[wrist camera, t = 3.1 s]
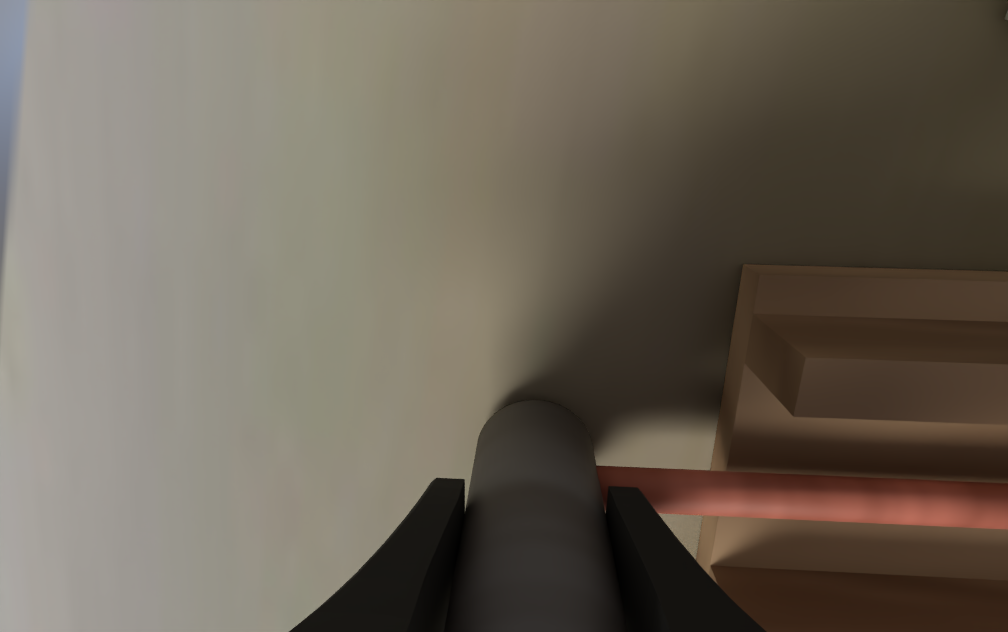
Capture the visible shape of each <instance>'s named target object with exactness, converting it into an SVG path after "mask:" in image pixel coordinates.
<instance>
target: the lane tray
mask: <svg viewBox="0 0 1008 632" xmlns="http://www.w3.org/2000/svg"><path fill="white" fill-rule="evenodd" d="M710 471H732V472H755V473H778V474H801V475H825V476H848V477H871V478H894V479H918V480H941V481H964V482H987V483H1008V271H971V270H935V269H899V268H862V267H826V266H789V265H753V264H743V268H742V275H741V281H740V287H739V293H738V300H737V306H736V312H735V318H734V325H733V331H732V337H731V344H730V350H729V356H728V362H727V369H726V375H725V381H724V387H723V394H722V400H721V406H720V413H719V419H718V425H717V431H716V438H715V444H714V450H713V456H712V463H711V469H710ZM696 561H697V562H698V564H699V565H700V566H701V567H702V568H703V569H704V570H705V571H706V573H707V574H708V575H709V576H710V577H711V578H712V579H713V580H714V581H715V582H716V583H717V584H718V585H719V586H720V588H721V589H722V590H723V591H724V592H725V593H726V594H727V595H728V596H729V597H730V598H731V599H732V600H733V601H734V602H735V603H736V604H737V605H738V606H739V607H740V608H741V609H742V610H743V611H744V612H746V613H747V614H748V615H749V616H750V617H751V618H752V619H753V620H754V621H755V622H757V623H758V624H759V625H760V626H761V627H762V628H763V629H764V630H765V631H766V632H1008V529H987V528H965V527H943V526H922V525H900V524H879V523H857V522H836V521H814V520H793V519H771V518H749V517H728V516H706V515H703V519H702V525H701V532H700V538H699V544H698V551H697V557H696Z"/></svg>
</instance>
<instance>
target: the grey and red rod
mask: <svg viewBox="0 0 1008 632" xmlns="http://www.w3.org/2000/svg"><path fill="white" fill-rule="evenodd" d="M608 486H619V487H638V488H639V490H640V491H641V492H642V493H643V494H644V496H645V497H646V498H647V500H648V501H649V502H650V504H651V505H652V506H653V508H654V509H655V510H656V512H657V513H663V514H685V515H706V516H728V517H749V518H771V519H793V520H814V521H836V522H857V523H879V524H900V525H922V526H943V527H965V528H987V529H1008V483H987V482H964V481H941V480H918V479H894V478H871V477H848V476H825V475H801V474H778V473H755V472H732V471H708V470H685V469H662V468H639V467H615V466H596V461H595V456H594V450H593V445H592V440H591V437H590V434H589V432H588V430H587V428H586V427H585V425H584V424H583V422H582V421H581V420H580V419H579V418H578V417H577V416H576V415H575V414H574V413H572V412H571V411H569V410H568V409H566V408H564V407H562V406H560V405H558V404H555V403H552V402H547V401H541V400H527V401H520V402H517V403H513V404H511V405H508V406H506V407H504V408H502V409H500V410H499V411H498V412H496V413H495V414H494V415H493V416H492V417H491V418H490V419H489V420H488V421H487V422H486V424H485V425H484V427H483V428H482V430H481V433H480V435H479V438H478V443H477V448H476V454H475V459H474V465H473V471H472V476H471V482H470V488H469V493H468V499H467V504H466V510H465V516H464V521H463V527H462V532H461V538H460V544H459V549H458V555H457V561H456V566H455V572H454V577H453V583H452V589H451V594H450V600H449V606H448V611H447V617H446V622H445V628H444V632H628V629H627V624H626V619H625V614H624V608H623V603H622V598H621V593H620V587H619V582H618V577H617V572H616V566H615V561H614V556H613V550H612V545H611V540H610V535H609V529H608V524H607V519H606V514H605V511H606V506H607V495H608Z"/></svg>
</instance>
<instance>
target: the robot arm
mask: <svg viewBox="0 0 1008 632" xmlns="http://www.w3.org/2000/svg"><path fill="white" fill-rule="evenodd" d="M464 516H465V479H448V478H436V479H435V480H433V481H432V482H431V483H430V485H429V486H428V488H427V489H426V491H425V492H424V494H423V495H422V496H421V498H420V499H419V500H418V502H417V503H416V505H415V506H414V507H413V508H412V510H411V511H410V512H409V514H408V515H407V516H406V518H405V519H404V520H403V521H402V522H401V524H400V525H399V526H398V527H397V528H396V530H395V531H394V532H393V533H392V534H391V536H390V537H389V538H388V539H387V540H386V541H385V543H384V544H383V545H382V546H381V547H380V548H379V549H378V550H377V551H376V552H375V554H374V555H373V556H372V557H371V558H370V559H369V560H368V561H367V562H366V563H365V564H364V565H363V566H362V567H361V568H360V569H359V571H358V572H357V573H356V574H355V575H354V576H353V577H352V578H350V579H349V580H348V581H347V582H346V583H345V584H344V585H343V586H342V587H341V588H340V589H339V590H338V591H337V592H336V593H335V594H333V595H332V596H331V597H330V598H329V599H328V600H327V601H326V602H325V603H323V604H322V605H321V606H320V607H319V608H318V609H317V610H315V611H314V612H313V613H312V614H310V615H309V616H308V617H307V618H305V619H304V620H303V621H302V622H301V623H299V624H298V625H297V626H296V627H294V628H293V629H292V630H291V631H289V632H444V628H445V622H446V617H447V611H448V606H449V600H450V594H451V589H452V583H453V577H454V572H455V566H456V561H457V555H458V549H459V544H460V538H461V532H462V527H463V521H464ZM606 519H607V524H608V529H609V535H610V540H611V545H612V550H613V556H614V561H615V566H616V572H617V577H618V582H619V587H620V593H621V598H622V603H623V608H624V614H625V619H626V624H627V629H628V632H766V631H765V630H764V629H763V628H762V627H761V626H760V625H759V624H758V623H757V622H755V621H754V620H753V619H752V618H751V617H750V616H749V615H748V614H747V613H746V612H744V611H743V610H742V609H741V608H740V607H739V606H738V605H737V604H736V603H735V602H734V601H733V600H732V599H731V598H730V597H729V596H728V595H727V594H726V593H725V592H724V591H723V590H722V589H721V588H720V586H719V585H718V584H717V583H716V582H715V581H714V580H713V579H712V578H711V577H710V576H709V575H708V574H707V573H706V571H705V570H704V569H703V568H702V567H701V566H700V565H699V564H698V562H697V561H696V560H695V559H694V558H693V556H692V555H691V554H690V553H689V552H688V551H687V549H686V548H685V547H684V546H683V545H682V543H681V542H680V541H679V540H678V539H677V537H676V536H675V535H674V534H673V532H672V531H671V530H670V529H669V527H668V526H667V525H666V524H665V522H664V521H663V520H662V518H661V517H660V516H659V514H658V513H657V512H656V510H655V509H654V508H653V506H652V505H651V504H650V502H649V501H648V500H647V498H646V497H645V496H644V494H643V493H642V492H641V491H640V490H639V488H638V487H619V486H608V495H607V506H606Z"/></svg>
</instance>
